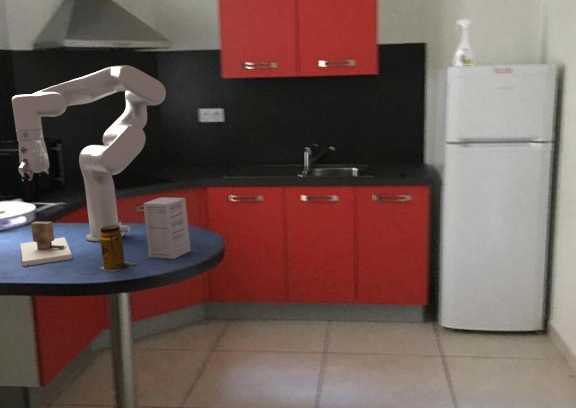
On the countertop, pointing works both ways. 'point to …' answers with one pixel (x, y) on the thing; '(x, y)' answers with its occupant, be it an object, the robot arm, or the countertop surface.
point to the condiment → (112, 249)
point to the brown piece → (43, 235)
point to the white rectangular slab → (45, 252)
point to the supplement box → (167, 227)
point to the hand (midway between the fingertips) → (37, 190)
